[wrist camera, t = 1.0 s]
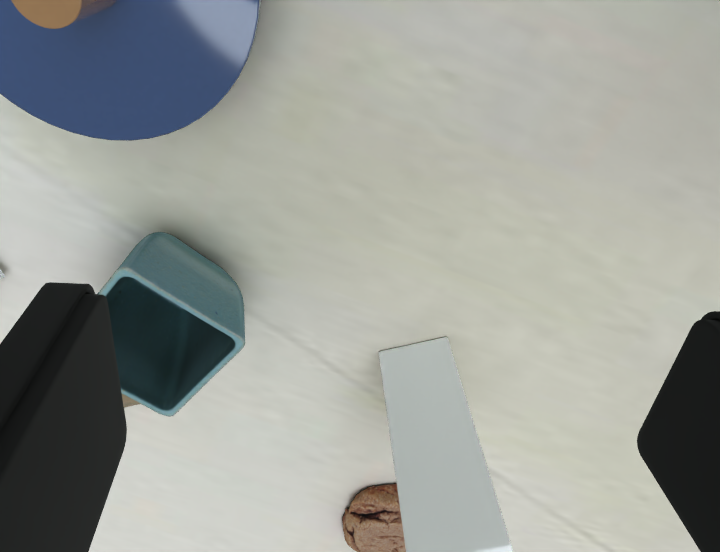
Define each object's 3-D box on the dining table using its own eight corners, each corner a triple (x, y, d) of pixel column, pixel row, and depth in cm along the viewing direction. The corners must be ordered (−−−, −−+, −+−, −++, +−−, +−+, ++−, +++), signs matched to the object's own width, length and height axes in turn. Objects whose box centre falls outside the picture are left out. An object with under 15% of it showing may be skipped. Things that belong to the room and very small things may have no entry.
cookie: (325, 531, 61) (325, 558, 58) (368, 469, 56) (371, 495, 54) (406, 550, 64) (410, 576, 61) (455, 493, 59) (461, 519, 56)
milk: (377, 350, 48) (413, 622, 30) (448, 335, 48) (529, 601, 29) (392, 401, 51) (432, 675, 33) (458, 387, 51) (537, 657, 32)
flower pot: (194, 338, 46) (169, 421, 39) (94, 279, 43) (45, 357, 35) (260, 268, 43) (248, 343, 36) (159, 197, 40) (121, 264, 32)
